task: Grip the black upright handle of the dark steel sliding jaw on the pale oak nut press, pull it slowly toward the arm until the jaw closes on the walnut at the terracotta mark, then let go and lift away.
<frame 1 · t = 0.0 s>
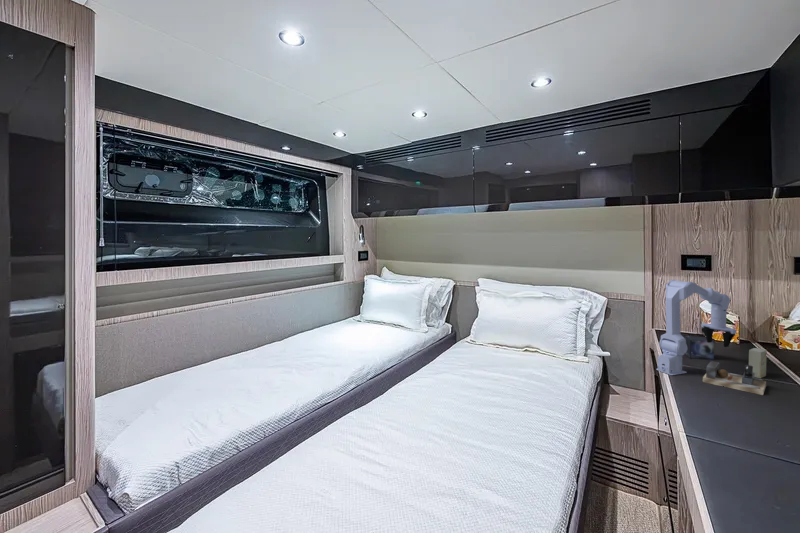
hand: (717, 344, 178), 10 cm above the cabinet, tool pointing down, fingers open, 7 cm apart
press: (726, 382, 158), on the cabinet
small box: (699, 357, 189), on the cabinet
skincare box: (756, 376, 164), on the cabinet
jaw: (748, 373, 152), point 6 cm above the cabinet, slide at 0.0 cm
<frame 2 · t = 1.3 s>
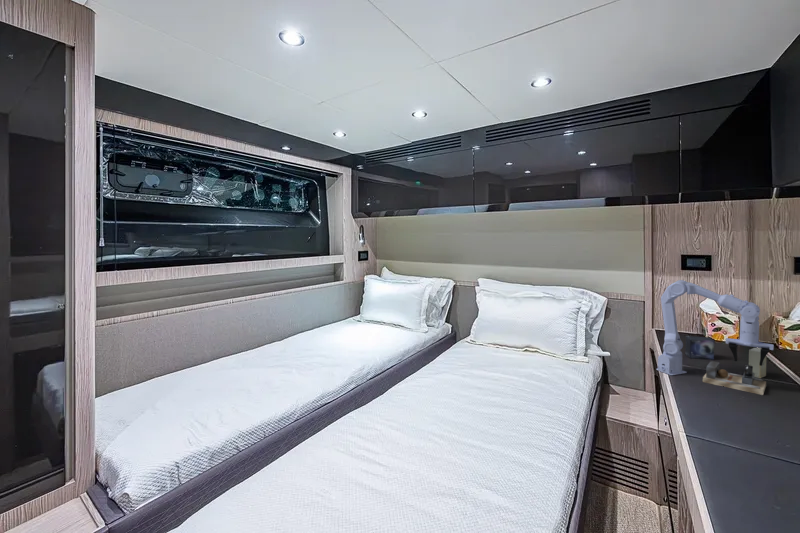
hand: (748, 362, 152), 10 cm above the cabinet, tool pointing down, fingers open, 7 cm apart
nothing on the cabinet moved.
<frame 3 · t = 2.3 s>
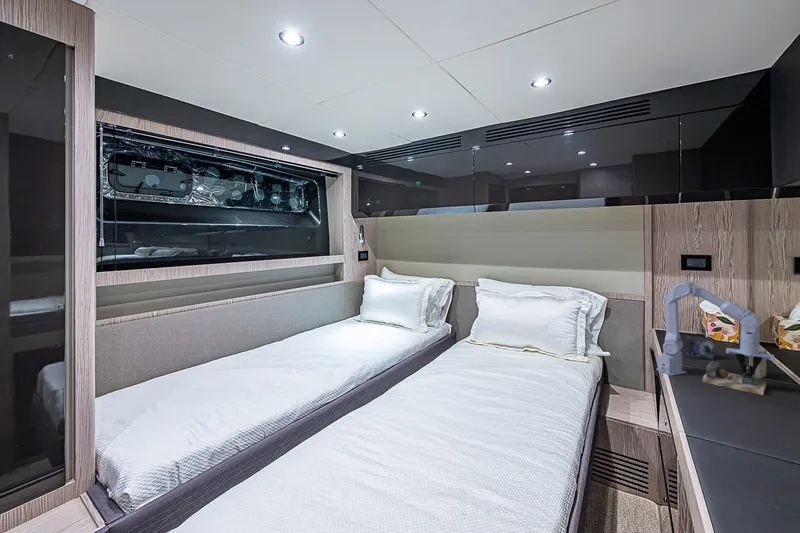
hand: (748, 372, 152), 6 cm above the cabinet, tool pointing down, fingers closed on jaw, 2 cm apart
jaw: (748, 373, 152), point 6 cm above the cabinet, slide at 0.0 cm, touching gripper
everything else where it was.
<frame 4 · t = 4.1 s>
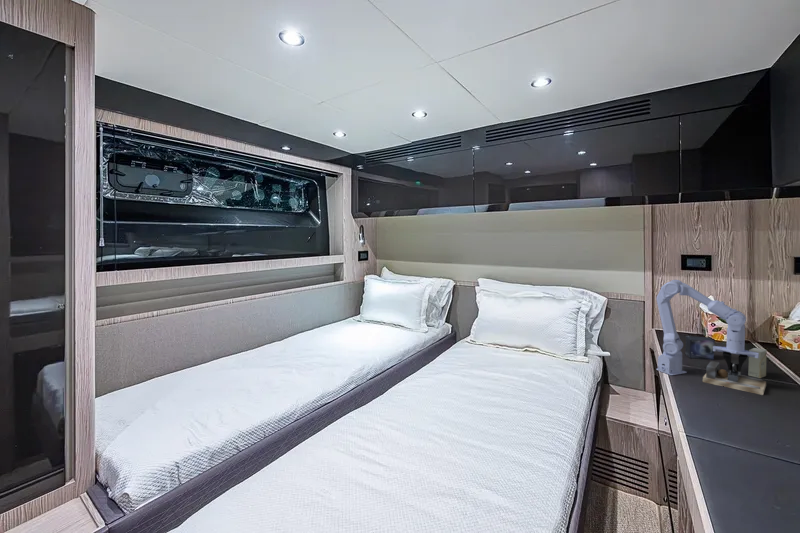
hand: (734, 370, 156), 6 cm above the cabinet, tool pointing down, fingers closed on jaw, 2 cm apart
jaw: (734, 371, 156), point 6 cm above the cabinet, slide at 4.4 cm, touching gripper
everything else where it was.
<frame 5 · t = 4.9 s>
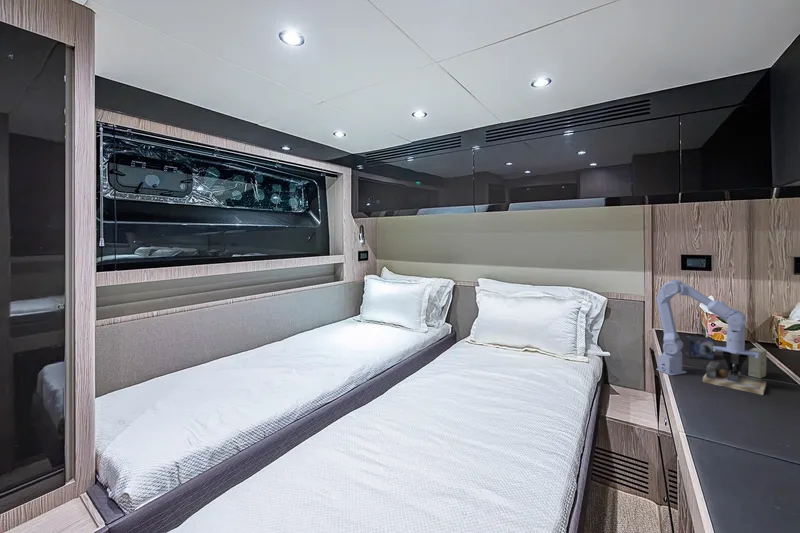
hand: (734, 370, 156), 6 cm above the cabinet, tool pointing down, fingers closed on jaw, 2 cm apart
jaw: (734, 371, 156), point 6 cm above the cabinet, slide at 4.4 cm, touching gripper
everything else where it was.
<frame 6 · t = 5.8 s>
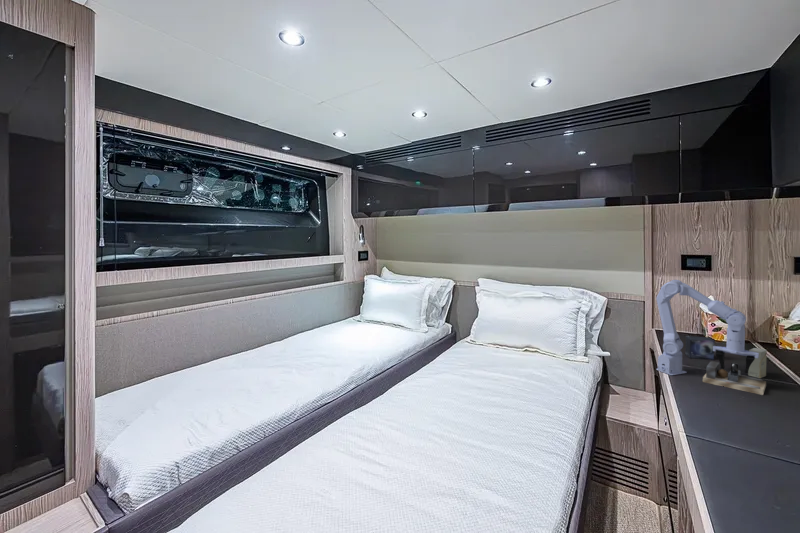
hand: (734, 370, 156), 6 cm above the cabinet, tool pointing down, fingers open, 7 cm apart
jaw: (734, 371, 156), point 6 cm above the cabinet, slide at 4.4 cm
everything else where it was.
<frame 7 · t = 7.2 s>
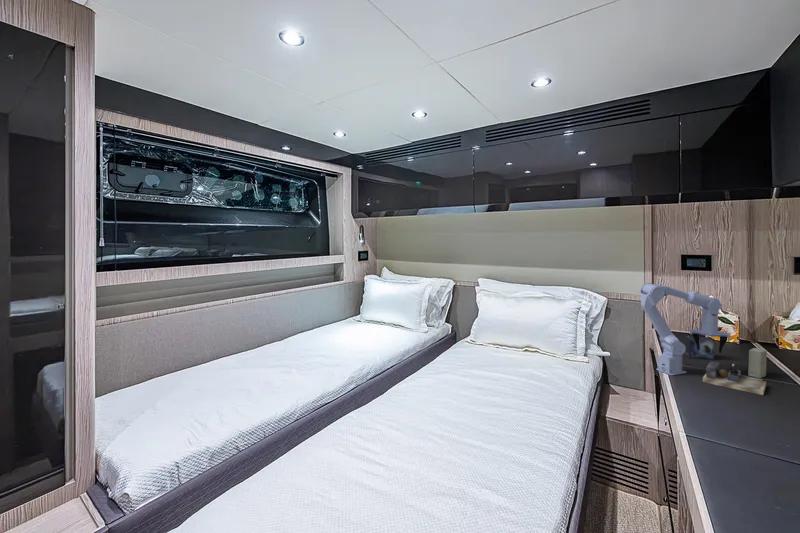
hand: (709, 350, 169), 10 cm above the cabinet, tool pointing down, fingers open, 7 cm apart
nothing on the cabinet moved.
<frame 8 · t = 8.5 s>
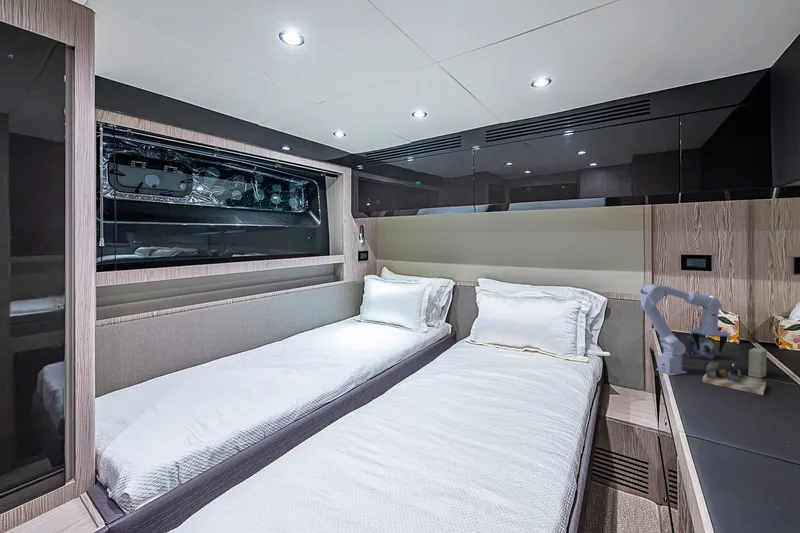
hand: (709, 350, 169), 10 cm above the cabinet, tool pointing down, fingers open, 7 cm apart
nothing on the cabinet moved.
at the end: jaw slide at 4.4 cm; the gripper is holding nothing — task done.
